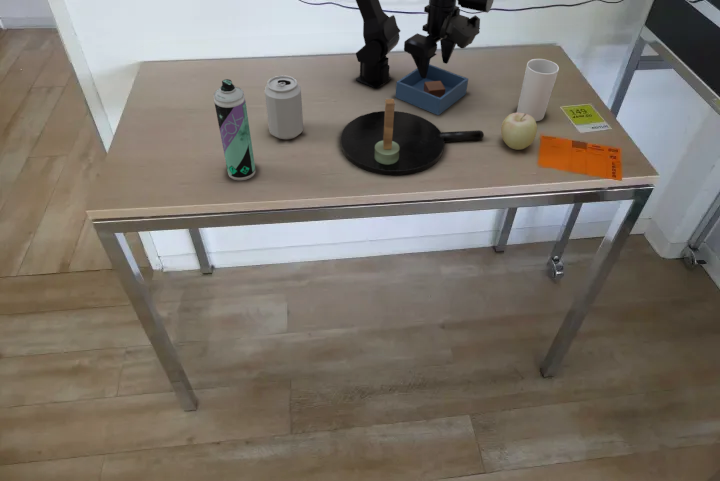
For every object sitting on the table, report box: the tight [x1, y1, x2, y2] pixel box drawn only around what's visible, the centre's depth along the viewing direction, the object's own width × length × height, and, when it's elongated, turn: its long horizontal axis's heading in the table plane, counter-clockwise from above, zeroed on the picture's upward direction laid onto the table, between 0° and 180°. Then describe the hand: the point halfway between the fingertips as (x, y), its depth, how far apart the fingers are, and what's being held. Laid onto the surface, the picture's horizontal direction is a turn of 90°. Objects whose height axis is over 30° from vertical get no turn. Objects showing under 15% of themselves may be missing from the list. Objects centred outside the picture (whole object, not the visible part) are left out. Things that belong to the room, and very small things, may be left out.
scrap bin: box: [395, 63, 469, 116], centre depth 133 cm, size 12×12×4 cm
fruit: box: [500, 112, 538, 151], centre depth 118 cm, size 8×7×8 cm
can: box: [264, 74, 304, 140], centre depth 119 cm, size 8×8×12 cm
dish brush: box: [374, 98, 400, 165], centre depth 110 cm, size 5×5×13 cm
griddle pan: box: [340, 110, 485, 176], centre depth 120 cm, size 31×22×2 cm
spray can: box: [213, 78, 256, 181], centre depth 105 cm, size 6×6×20 cm
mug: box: [516, 58, 560, 122], centre depth 126 cm, size 10×7×12 cm, turn 7°
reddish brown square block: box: [424, 81, 445, 98], centre depth 133 cm, size 4×4×2 cm
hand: (434, 70), depth 130 cm, fingers open, 9 cm apart
